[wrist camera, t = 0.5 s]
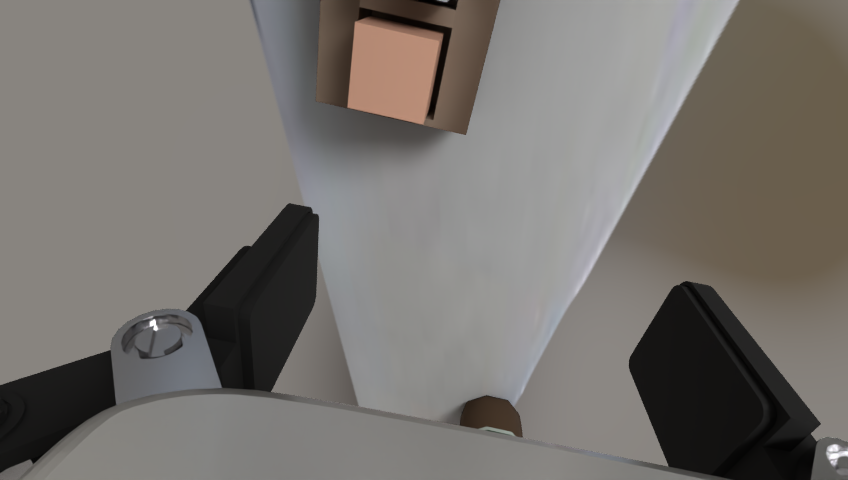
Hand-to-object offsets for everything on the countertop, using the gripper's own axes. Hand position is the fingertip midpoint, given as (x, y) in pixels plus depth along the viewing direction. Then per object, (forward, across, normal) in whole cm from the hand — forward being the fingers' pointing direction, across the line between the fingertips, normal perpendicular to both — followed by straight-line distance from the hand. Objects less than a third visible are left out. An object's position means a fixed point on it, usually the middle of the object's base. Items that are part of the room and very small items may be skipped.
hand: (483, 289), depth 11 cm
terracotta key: (+22, +6, -1) cm, 23 cm away
